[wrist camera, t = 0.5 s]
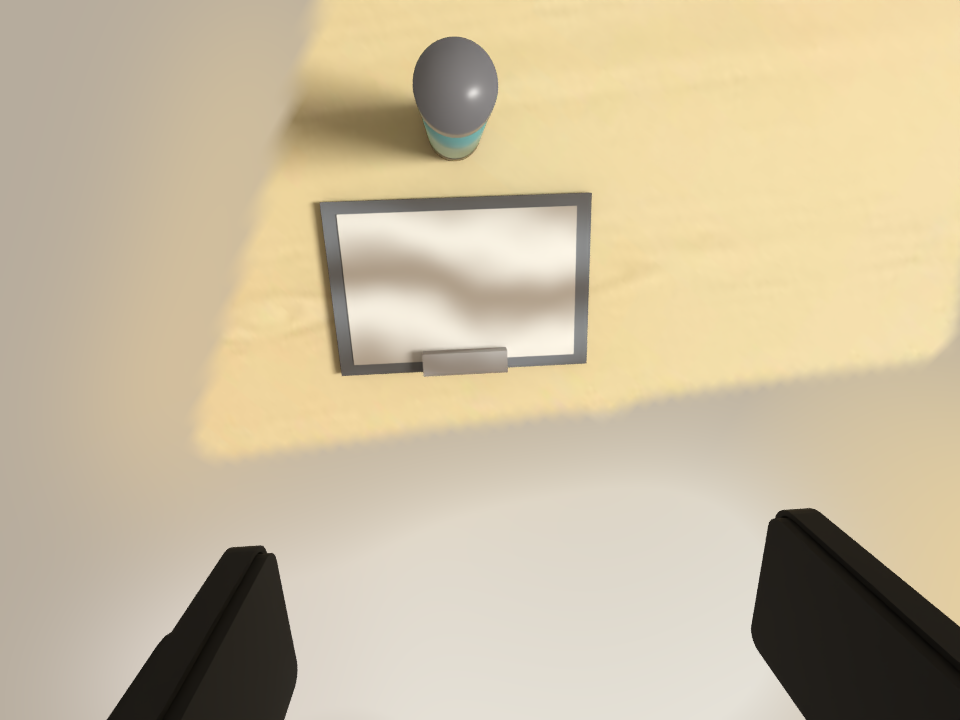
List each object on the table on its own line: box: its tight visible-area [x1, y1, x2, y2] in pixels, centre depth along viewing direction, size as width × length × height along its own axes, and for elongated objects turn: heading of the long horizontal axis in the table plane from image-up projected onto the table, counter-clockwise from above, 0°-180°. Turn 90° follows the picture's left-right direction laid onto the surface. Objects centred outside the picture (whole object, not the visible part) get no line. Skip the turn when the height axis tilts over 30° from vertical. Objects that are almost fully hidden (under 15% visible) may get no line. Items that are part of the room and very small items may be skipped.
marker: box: [413, 37, 498, 161], centre depth 25 cm, size 4×4×12 cm
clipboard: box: [320, 193, 592, 377], centre depth 33 cm, size 12×18×2 cm, turn 92°
